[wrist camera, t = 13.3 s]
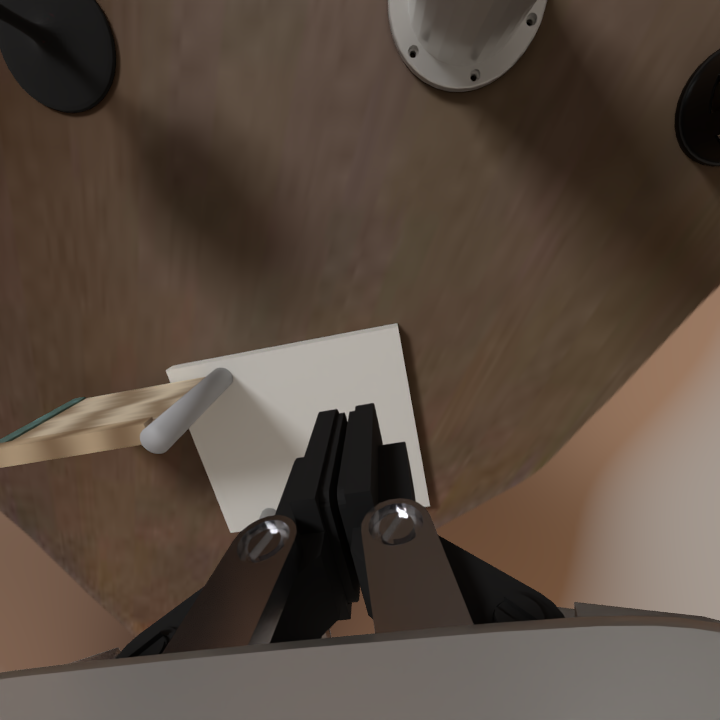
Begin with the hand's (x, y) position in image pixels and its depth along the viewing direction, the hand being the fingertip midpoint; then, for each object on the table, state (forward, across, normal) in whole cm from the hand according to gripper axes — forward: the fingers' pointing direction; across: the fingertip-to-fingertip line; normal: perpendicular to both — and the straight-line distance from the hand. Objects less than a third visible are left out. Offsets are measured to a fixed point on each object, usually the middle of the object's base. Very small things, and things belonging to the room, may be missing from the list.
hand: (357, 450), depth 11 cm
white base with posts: (+29, +11, +15) cm, 34 cm away
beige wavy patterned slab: (+27, +27, +5) cm, 39 cm away
